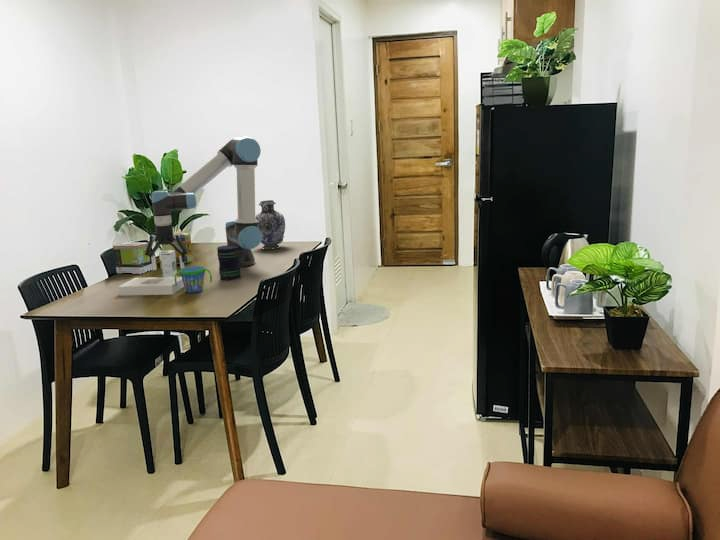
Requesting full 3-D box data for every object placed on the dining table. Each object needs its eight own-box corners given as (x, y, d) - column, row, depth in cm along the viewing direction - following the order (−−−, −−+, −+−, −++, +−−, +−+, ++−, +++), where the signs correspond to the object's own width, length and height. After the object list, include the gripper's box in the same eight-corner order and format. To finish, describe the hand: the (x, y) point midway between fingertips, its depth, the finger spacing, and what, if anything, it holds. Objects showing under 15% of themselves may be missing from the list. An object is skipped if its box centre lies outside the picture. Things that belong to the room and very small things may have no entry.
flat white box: (186, 285, 272) (185, 276, 271) (172, 294, 257) (171, 285, 256) (136, 286, 275) (134, 277, 274) (119, 295, 259) (118, 286, 258)
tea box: (153, 270, 307) (149, 242, 304) (140, 274, 298) (136, 245, 295) (129, 269, 312) (125, 241, 309) (116, 273, 303) (112, 245, 300)
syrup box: (166, 280, 284) (162, 250, 281) (178, 279, 284) (174, 249, 281) (161, 283, 279) (158, 252, 275) (174, 282, 278) (170, 252, 275)
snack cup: (213, 286, 268) (210, 264, 265) (212, 292, 258) (210, 269, 255) (176, 290, 264) (174, 267, 262) (175, 296, 254) (172, 272, 252)
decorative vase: (284, 250, 342) (280, 202, 336) (252, 252, 342) (247, 204, 336) (289, 244, 363) (285, 198, 357) (259, 245, 363) (254, 200, 357)
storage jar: (233, 274, 289) (230, 244, 286) (245, 277, 282) (242, 246, 279) (215, 278, 282) (212, 247, 279) (227, 281, 275) (224, 249, 272)
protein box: (175, 265, 317) (172, 236, 314) (163, 261, 329) (160, 233, 325) (193, 261, 324) (190, 233, 320) (181, 258, 335) (178, 231, 332)
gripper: (133, 226, 273) (139, 271, 277) (186, 225, 270) (191, 270, 275) (141, 224, 280) (146, 268, 285) (192, 222, 277) (197, 267, 282)
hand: (168, 269), depth 280 cm, fingers open, 13 cm apart
